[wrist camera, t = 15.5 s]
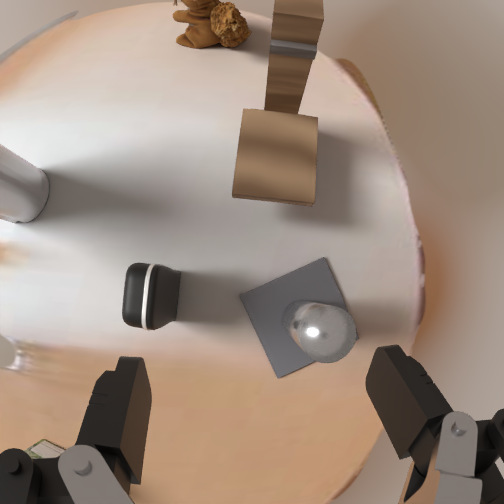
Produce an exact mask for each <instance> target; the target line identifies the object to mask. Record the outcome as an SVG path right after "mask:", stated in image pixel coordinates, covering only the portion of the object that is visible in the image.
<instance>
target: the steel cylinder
mask: <svg viewBox="0 0 504 504" xmlns="http://www.w3.org/2000/svg"><path fill="white" fill-rule="evenodd" d="M282 324H283V327H284V329H285V331H286V332H287V333H288V334H289V335H290V337H291V338H292V339H293V340H294V341H295V342H296V343H297V344H298V345H299V346H300V347H301V348H302V350H303V351H304V352H305V353H306V354H307V355H308V356H309V357H310V358H312V359H313V360H315V361H317V362H321V363H332V362H336V361H338V360H340V359H342V358H343V357H345V356H346V355H347V354H348V353H349V352H350V350H351V349H352V347H353V345H354V343H355V340H356V325H355V322H354V320H353V318H352V317H351V316H350V314H349V313H348V312H346V311H345V310H343V309H342V308H339V307H336V306H331V305H326V304H321V303H316V302H311V301H306V300H298V301H295V302H293V303H291V304H289V305H288V306H287V307H286V309H285V310H284V312H283V316H282Z"/></svg>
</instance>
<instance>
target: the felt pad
mask: <svg viewBox="0 0 504 504" xmlns="http://www.w3.org/2000/svg"><path fill="white" fill-rule="evenodd" d="M240 298H241V300H242V302H243V304H244V306H245V309H246V311H247V313H248V315H249V318H250V320H251V322H252V324H253V326H254V329H255V331H256V333H257V335H258V337H259V339H260V342H261V344H262V346H263V348H264V350H265V352H266V355H267V357H268V359H269V361H270V363H271V365H272V367H273V370H274V372H275V374H276V376H277V378H280V377H282V376H284V375H286V374H289V373H291V372H293V371H295V370H297V369H300V368H302V367H304V366H306V365H308V364H310V363H312V362H314V361H315V360H313V359H312V358H310V357H309V356H308V355H307V354H306V353H305V352H304V351H303V350H302V348H301V347H300V346H299V345H298V344H297V343H296V342H295V341H294V340H293V339H292V338H291V337H290V335H289V334H288V333H287V332H286V331H285V329H284V327H283V324H282V316H283V312H284V310H285V309H286V307H287V306H288V305H289V304H291V303H293V302H295V301H298V300H306V301H311V302H316V303H321V304H326V305H331V306H336V307H339V308H342V309H343V310H345V311H346V312H348V310H347V308H346V306H345V303H344V301H343V299H342V296H341V294H340V292H339V289H338V287H337V285H336V282H335V280H334V278H333V276H332V273H331V271H330V269H329V267H328V264H327V262H326V260H325V258H324V257H323V258H321V259H319V260H317V261H315V262H312V263H310V264H308V265H306V266H304V267H302V268H299V269H297V270H295V271H293V272H291V273H289V274H286V275H284V276H282V277H280V278H278V279H275V280H273V281H271V282H269V283H267V284H264V285H262V286H260V287H258V288H255V289H253V290H251V291H249V292H246V293H244V294H242V295H240ZM357 339H359V337H358V335H357V332H356V340H357ZM356 340H355V341H356Z"/></svg>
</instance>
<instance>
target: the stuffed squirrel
mask: <svg viewBox="0 0 504 504" xmlns="http://www.w3.org/2000/svg"><path fill="white" fill-rule="evenodd" d="M181 1H182V2H183V3H184V4H185V5H186V6H187V7H188V10H178V11H176V12H175V13H173V18H174V20H175V21H177V22H183V23H189V26H188V28H187V29H186V32H185V34H182V35H180V36H178V37H177V39H176V42H177V43H178V44H180V45H183V46H187V47H191V48H203V47H207V46H211V45H214V44H217V43H219V42H220V44H221V45H223V46H226V47H227V46H229V47H230V48H231V47H234V46H238V45H239V44H240V43H241V42H243V41H245V40H246V39H247V37H248V36H250V33H251V31H250V30H248V29H249V28H248V26H247V22H246V21H245V20H246V19H245V18H243V17H242V16H241V15H240V14H241V13H240V12H239V10H238V9H236V8H235V5H234V4H232V3H230V2H226V3H224V2H223V3H221V2H220V1H219V0H181ZM175 4H176V6H177V0H175V1H174V4H173V5H175Z"/></svg>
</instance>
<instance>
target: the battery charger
mask: <svg viewBox="0 0 504 504" xmlns="http://www.w3.org/2000/svg"><path fill="white" fill-rule="evenodd" d="M180 275H181V273H180V272H179V271H176V270H173V269H171V268H169V267H166V266H163V265H160V264H146V263H134V264H132V265H131V266H130V267H129V268H128V270H127V273H126V279H125V287H124V297H123V308H122V316H123V320H124V322H125V323H126V324H128V325H129V326H133V327H138V328H143V329H145V330H155V329H158V328H161V327H163V326H165V325H166V324H168V323H169V322H172V321H175V320H176V312H177V303H178V293H179V284H180Z"/></svg>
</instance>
